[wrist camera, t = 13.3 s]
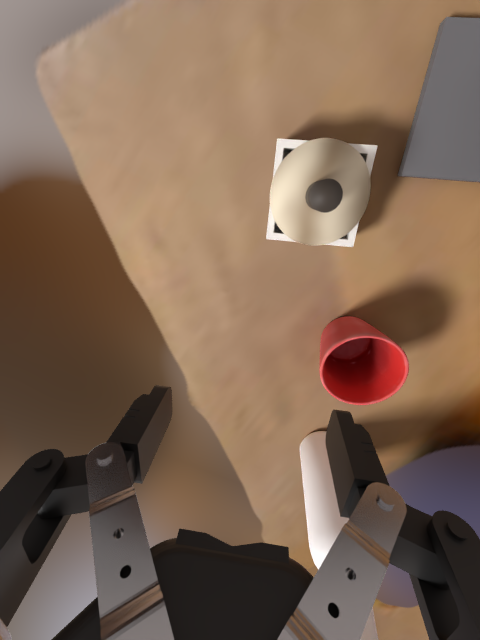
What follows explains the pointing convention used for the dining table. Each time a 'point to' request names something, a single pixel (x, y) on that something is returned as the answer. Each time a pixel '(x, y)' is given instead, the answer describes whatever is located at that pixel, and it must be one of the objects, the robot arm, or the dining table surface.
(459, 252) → the dining table surface
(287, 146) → the dish
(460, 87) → the mat
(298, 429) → the dining table surface
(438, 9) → the dining table surface
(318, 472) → the alcohol
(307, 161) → the lid
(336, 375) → the flower pot
